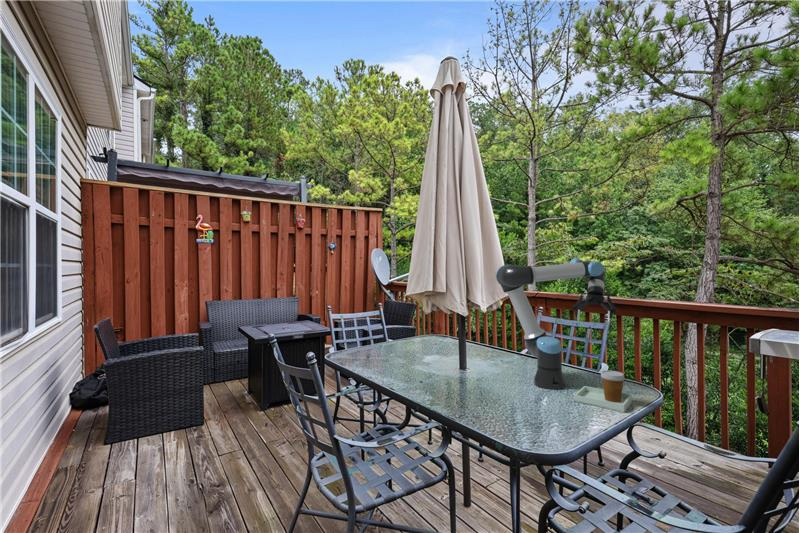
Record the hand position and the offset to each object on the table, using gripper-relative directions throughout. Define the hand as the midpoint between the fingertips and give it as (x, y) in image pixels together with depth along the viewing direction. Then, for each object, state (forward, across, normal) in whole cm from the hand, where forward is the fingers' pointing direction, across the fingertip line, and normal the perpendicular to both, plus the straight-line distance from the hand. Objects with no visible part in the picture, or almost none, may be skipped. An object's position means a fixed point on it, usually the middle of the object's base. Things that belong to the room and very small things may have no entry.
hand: (592, 322), depth 192 cm
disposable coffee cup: (+35, -9, -10) cm, 37 cm away
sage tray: (+36, -6, -9) cm, 38 cm away
